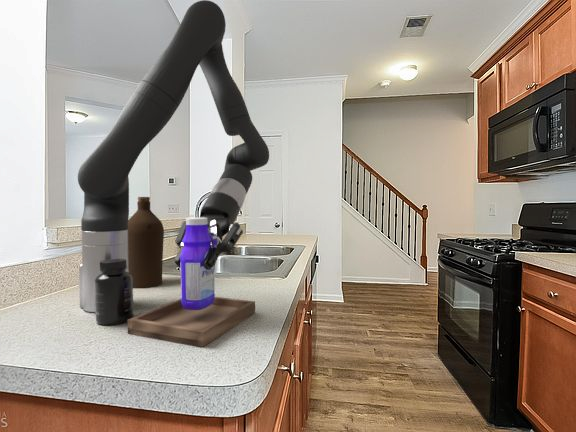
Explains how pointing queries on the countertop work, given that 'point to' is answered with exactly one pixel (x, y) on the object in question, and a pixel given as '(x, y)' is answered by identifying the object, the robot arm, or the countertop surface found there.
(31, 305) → the countertop surface
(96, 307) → the supplement bottle
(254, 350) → the countertop surface
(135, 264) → the olive oil
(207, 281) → the bottle
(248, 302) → the walnut tray
